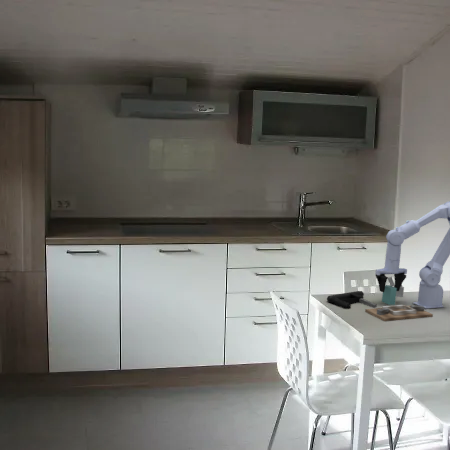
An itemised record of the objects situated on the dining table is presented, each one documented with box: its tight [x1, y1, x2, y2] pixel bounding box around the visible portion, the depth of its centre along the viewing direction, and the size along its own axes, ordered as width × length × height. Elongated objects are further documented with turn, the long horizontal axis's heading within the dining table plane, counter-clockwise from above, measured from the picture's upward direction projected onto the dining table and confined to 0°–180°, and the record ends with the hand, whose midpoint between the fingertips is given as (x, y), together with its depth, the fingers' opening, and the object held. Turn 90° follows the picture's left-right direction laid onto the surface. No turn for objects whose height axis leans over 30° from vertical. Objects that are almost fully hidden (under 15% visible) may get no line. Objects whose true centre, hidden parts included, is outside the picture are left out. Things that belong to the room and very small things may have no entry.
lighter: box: [387, 276, 405, 298], centre depth 261 cm, size 7×2×8 cm, turn 60°
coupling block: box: [381, 284, 397, 306], centre depth 248 cm, size 3×5×7 cm, turn 23°
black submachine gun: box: [326, 290, 378, 310], centre depth 245 cm, size 3×20×16 cm
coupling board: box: [364, 304, 434, 322], centre depth 233 cm, size 23×12×3 cm, turn 113°
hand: (389, 291), depth 248 cm, fingers open, 7 cm apart
